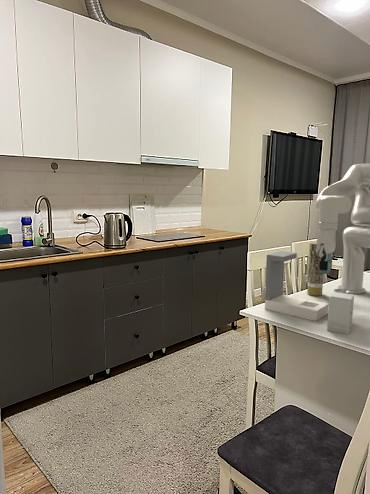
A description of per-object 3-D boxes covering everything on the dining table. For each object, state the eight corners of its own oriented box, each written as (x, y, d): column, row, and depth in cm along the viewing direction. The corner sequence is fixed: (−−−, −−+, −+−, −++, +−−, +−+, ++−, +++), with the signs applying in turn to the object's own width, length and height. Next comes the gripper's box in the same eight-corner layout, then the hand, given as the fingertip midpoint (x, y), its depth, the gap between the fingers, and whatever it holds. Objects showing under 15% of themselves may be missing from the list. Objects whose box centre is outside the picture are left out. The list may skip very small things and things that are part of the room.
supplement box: (348, 334, 128) (351, 299, 126) (326, 330, 132) (328, 296, 130) (352, 328, 135) (354, 294, 133) (330, 324, 138) (332, 291, 136)
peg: (319, 271, 161) (320, 249, 159) (328, 271, 161) (329, 249, 159) (321, 274, 157) (323, 250, 155) (331, 274, 157) (332, 250, 155)
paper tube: (322, 293, 179) (325, 241, 175) (321, 296, 173) (324, 243, 169) (308, 291, 182) (310, 240, 178) (306, 295, 176) (309, 242, 172)
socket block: (278, 302, 165) (280, 251, 161) (328, 313, 151) (331, 257, 147) (264, 308, 156) (266, 254, 152) (316, 321, 142) (319, 261, 138)
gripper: (326, 224, 164) (324, 264, 167) (311, 227, 152) (308, 271, 155) (343, 225, 159) (341, 267, 162) (329, 228, 147) (327, 274, 150)
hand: (325, 268), depth 159 cm, fingers closed on peg, 4 cm apart
